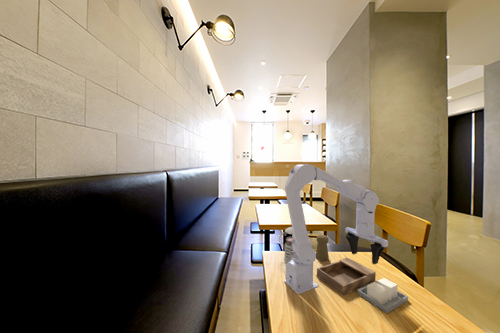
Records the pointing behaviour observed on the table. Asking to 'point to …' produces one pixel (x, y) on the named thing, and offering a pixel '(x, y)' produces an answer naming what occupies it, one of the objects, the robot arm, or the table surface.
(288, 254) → the french press
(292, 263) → the robot arm
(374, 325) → the table surface
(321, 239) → the cork
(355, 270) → the walnut box
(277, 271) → the table surface
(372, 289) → the cube
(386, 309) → the slate dish
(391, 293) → the cube
